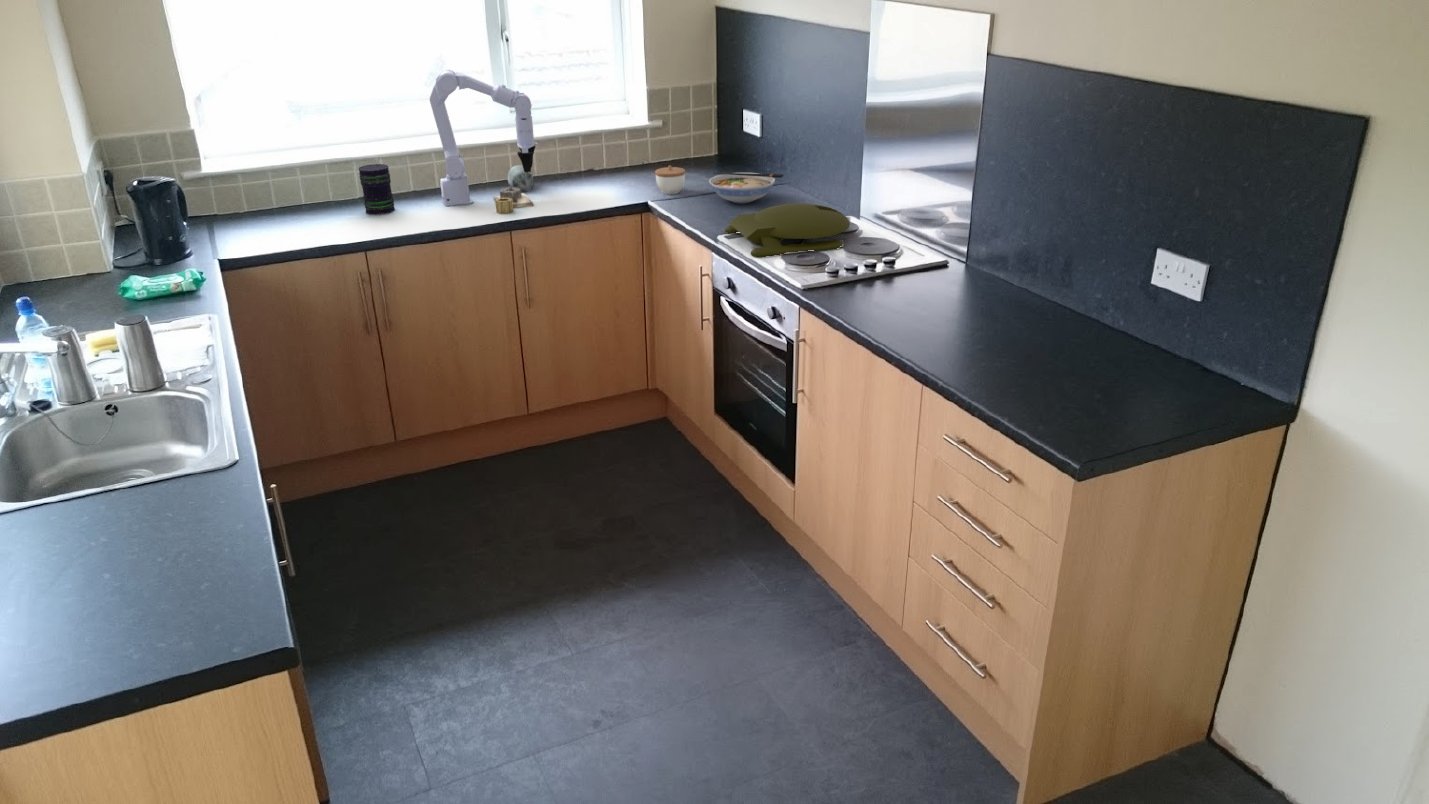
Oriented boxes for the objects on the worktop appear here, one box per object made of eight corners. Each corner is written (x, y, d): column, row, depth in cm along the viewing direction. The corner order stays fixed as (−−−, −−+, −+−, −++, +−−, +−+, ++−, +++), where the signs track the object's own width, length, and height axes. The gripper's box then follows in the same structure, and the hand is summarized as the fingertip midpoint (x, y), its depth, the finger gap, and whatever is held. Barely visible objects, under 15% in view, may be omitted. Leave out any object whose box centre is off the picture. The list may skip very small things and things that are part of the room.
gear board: (501, 209, 352) (499, 196, 350) (493, 199, 364) (492, 187, 362) (533, 205, 356) (531, 192, 354) (524, 196, 368) (523, 183, 366)
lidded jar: (675, 197, 363) (674, 170, 359) (650, 193, 368) (648, 167, 364) (691, 190, 371) (690, 164, 367) (666, 187, 376) (665, 161, 372)
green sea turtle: (753, 260, 297) (753, 227, 293) (722, 232, 324) (722, 201, 320) (865, 248, 306) (866, 215, 302) (826, 221, 332) (827, 191, 328)
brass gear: (498, 214, 346) (496, 202, 345) (495, 210, 351) (493, 198, 349) (514, 212, 348) (513, 200, 346) (511, 208, 353) (510, 196, 351)
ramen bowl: (697, 207, 350) (696, 183, 347) (718, 191, 370) (718, 168, 366) (767, 212, 343) (767, 187, 339) (785, 195, 362) (786, 172, 359)
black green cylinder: (386, 215, 348) (379, 171, 341) (360, 214, 350) (352, 170, 343) (400, 207, 357) (393, 164, 350) (374, 206, 359) (367, 163, 352)
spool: (539, 183, 372) (524, 158, 369) (517, 197, 371) (501, 172, 369) (538, 183, 385) (523, 160, 382) (517, 197, 384) (502, 173, 382)
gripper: (535, 133, 350) (538, 173, 356) (537, 125, 363) (540, 164, 369) (514, 134, 350) (518, 174, 355) (517, 126, 363) (521, 165, 368)
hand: (528, 169), depth 362 cm, fingers open, 7 cm apart
